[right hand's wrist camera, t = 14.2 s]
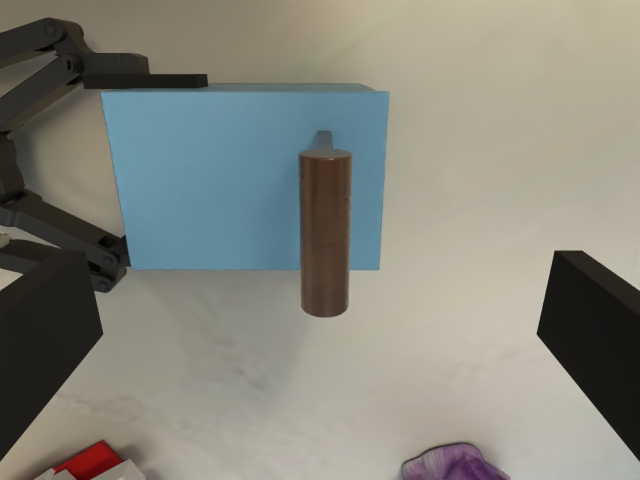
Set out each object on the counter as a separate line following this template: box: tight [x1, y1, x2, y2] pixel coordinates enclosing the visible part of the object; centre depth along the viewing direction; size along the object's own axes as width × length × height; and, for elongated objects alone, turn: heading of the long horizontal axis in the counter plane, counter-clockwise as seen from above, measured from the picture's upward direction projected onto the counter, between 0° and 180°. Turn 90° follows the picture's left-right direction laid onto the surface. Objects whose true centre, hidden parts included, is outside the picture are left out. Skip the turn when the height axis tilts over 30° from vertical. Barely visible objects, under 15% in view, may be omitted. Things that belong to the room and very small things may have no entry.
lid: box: [100, 91, 389, 317], centre depth 20 cm, size 14×10×9 cm
